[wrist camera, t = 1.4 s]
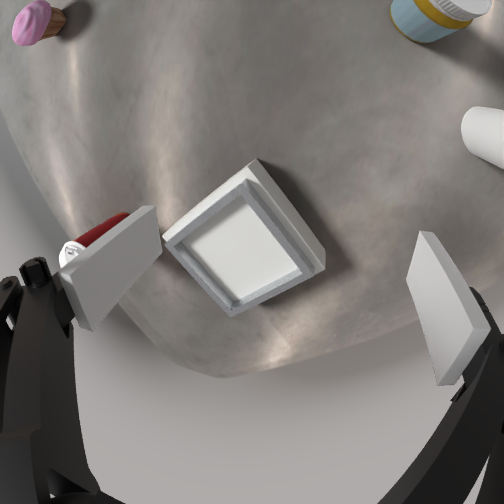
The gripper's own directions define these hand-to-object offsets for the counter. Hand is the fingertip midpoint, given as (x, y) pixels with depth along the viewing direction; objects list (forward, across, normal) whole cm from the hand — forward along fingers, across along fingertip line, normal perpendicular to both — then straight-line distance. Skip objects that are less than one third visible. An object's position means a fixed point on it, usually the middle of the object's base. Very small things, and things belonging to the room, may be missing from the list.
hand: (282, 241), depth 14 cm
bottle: (+25, +14, +20) cm, 35 cm away
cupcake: (+25, -42, +28) cm, 56 cm away
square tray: (+25, -8, -12) cm, 29 cm away
